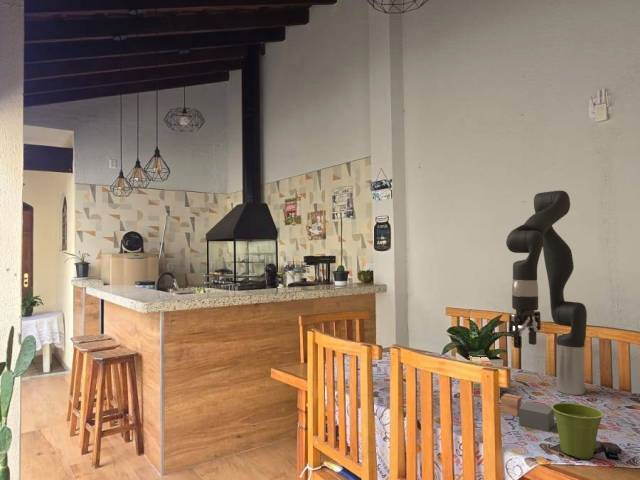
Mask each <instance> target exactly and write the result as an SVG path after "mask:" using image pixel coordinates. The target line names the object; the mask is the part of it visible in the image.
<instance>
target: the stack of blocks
mask: <svg viewBox="0 0 640 480" xmlns="http://www.w3.org/2000/svg"><path fill="white" fill-rule="evenodd" d="M469 358H470V360H472V362H477V363H482V364H486V365H490V366H492V367H493V363H492V362H491V360H490V359H489V358H488V357H481V358H480V357H472V356H470V355H469ZM473 397H477V398H481V397H480V384H474V396H473Z"/></svg>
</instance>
